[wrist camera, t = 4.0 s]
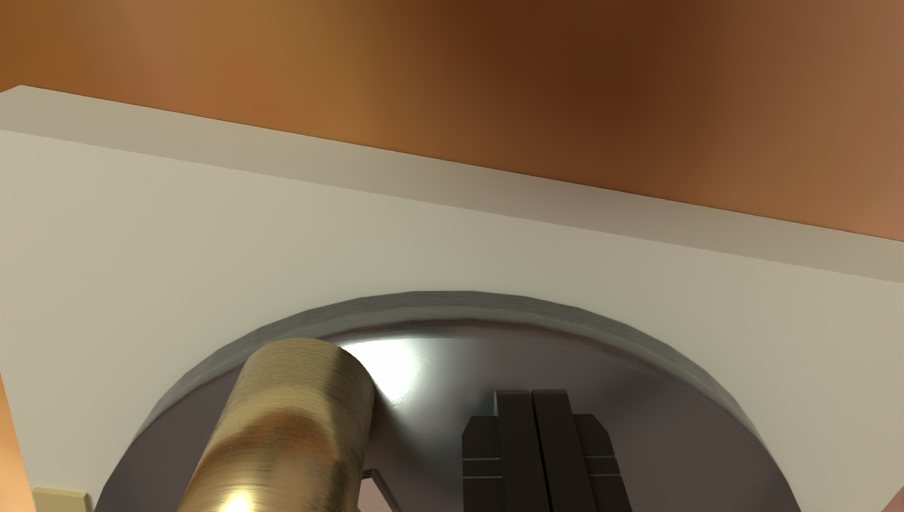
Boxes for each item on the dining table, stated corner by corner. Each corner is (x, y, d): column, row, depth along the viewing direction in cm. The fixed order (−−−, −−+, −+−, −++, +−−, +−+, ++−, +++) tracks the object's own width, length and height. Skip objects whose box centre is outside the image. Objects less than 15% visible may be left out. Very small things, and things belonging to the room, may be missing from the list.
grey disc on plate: (967, 253, 18) (1059, 313, 16) (664, 673, 31) (685, 747, 28) (21, 85, 16) (-72, 120, 13) (114, 619, 28) (78, 694, 26)
